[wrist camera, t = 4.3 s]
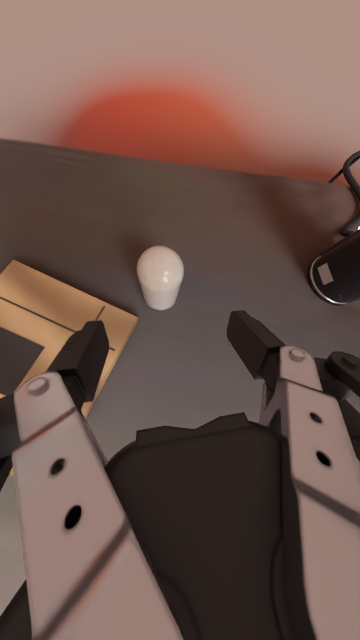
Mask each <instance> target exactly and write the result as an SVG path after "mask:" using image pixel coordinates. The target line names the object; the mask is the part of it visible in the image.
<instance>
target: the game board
mask: <svg viewBox="0 0 360 640" xmlns="http://www.w3.org/2000/svg"><path fill="white" fill-rule="evenodd" d="M99 320H102V321H103V323H104V326H105V330H106V333H107V337H108V340H109V352H108V355H107V358H106V362H105V365H104V368H103V371H102V374H101V378H100V381H99V384H98V387H97V390H96V393H95V397H94V400H93V401H92V402H85V403H83V406H82V409H81V411H82V413H83V415H84V417H85V419H86V417H87V415H88V413H89V412H90V410H91V408H92V406H93V404H94V402H95V400H96V399H97V397H98V395H99V393H100V391H101V389H102V387H103V386H104V384H105V382H106V380H107V378H108V376H109V374H110V373H111V371H112V369H113V367H114V365H115V363H116V361H117V360H118V358H119V356H120V354H121V352H122V350H123V348H124V347H125V345H126V343H127V341H128V339H129V337H130V335H131V334H132V332H133V330H134V328H135V326H136V324H137V322H138V321H139V319H138V317H136V316H134V315H132V314H129V313H127V312H125V311H123V310H121V309H119V308H117V307H114V306H112V305H110V304H108V303H106V302H104V301H101V300H99V299H97V298H95V297H93V296H91V295H89V294H86V293H84V292H82V291H80V290H78V289H76V288H73V287H71V286H69V285H67V284H65V283H63V282H61V281H58V280H56V279H54V278H52V277H50V276H48V275H45V274H43V273H41V272H39V271H37V270H35V269H33V268H30V267H28V266H26V265H24V264H22V263H20V262H18V261H15V260H12V262H11V263H10V264H9V265H8V266H7V267H6V269H5V270H4V271H3V272H2V273H1V274H0V398H2V397H5V396H8V395H11V394H13V393H15V392H16V390H17V389H18V388H19V387H20V386H21V385H22V384H23V383H24V382H26V381H27V380H28V379H30V378H32V377H34V376H36V375H38V374H41V373H44V372H46V370H47V369H48V367H49V366H50V364H51V363H52V361H53V360H54V359H55V357H56V356H57V354H58V353H59V351H61V348H62V347H63V346H64V345H65V343H66V341H67V340H68V338H69V337H70V336H71V335H73V334H74V333H75V332H76V331H79V330H82V328H83V327H84V325H85V323H86V322H87V321H99ZM9 475H11V476H13V477H14V472H13V467H12V469H11V471H10V473H9Z"/></svg>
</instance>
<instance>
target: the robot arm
mask: <svg viewBox="0 0 360 640" xmlns="http://www.w3.org/2000/svg"><path fill="white" fill-rule="evenodd" d="M359 158H360V151H358V152H356V153H354V154H353V155H352V156H350V157H349V158H348V159H347V160H346V162H345V163H344V166H343V168H342V169H341V170H340V171H339V172H338V173H337V174H336V175H335V176H334V177H333V178H332V179H331V180H330V181H329V182H327V183H332V182H333V181H334V180H335V179H336V178H338V177H339V176H340V175H341V174H342V173H343V174H344V176H345V179H346V180H347V182H348V184H349V185H350V187H351V188H352V189H353V191H354V192H355V194H356V196H357V197H358V199H359V202H360V186H359V185H358V183H357V182H356V180H355V179H354V177H353V176H352V174H351V172H350V169H349V167H350V166H351V165H352V164H354V163H355V162H356V161H357V160H359ZM359 221H360V213H359V214H358V216H357V217H356V218H355V219H354V220H353V221H352V222H350V223H349V224H348V225H347V226H346V227H345V228H344V229H343V230H342V236H345V238H344V239H342V240H340V241H339V242H337V243H336V244H335V245H334V246H332V247H331V248H329V249H328V250H326V251H324V252H323V253H321V256H320V257H318V258H317V259H315V260H314V261H313V262H312V263H311V265H310V267H309V271H308V276H309V281H310V284H311V286H312V288H313V290H314V291H315V292H316V293H317V295H318V296H319V297H321V298H322V299H323V300H325V301H326V302H328V303H331V304H334V305H345V304H348V303H351V302H353V301H356V300H360V227H359V228H358V230H357V231H356V232H353V231H349V230H350V229H351V228H352V227H353V226H354V225H355V224H357V223H358V222H359ZM227 338H228V340H229V341H230V343H231V344H232V346H233V348H234V349H235V351H236V352H237V354H238V355H239V357H240V358H241V360H242V361H243V363H244V364H245V366H246V367H247V369H248V370H249V372H250V373H251V375H252V376H253V378H254V379H262V378H263V379H264V380H265V382H264V385H263V395H262V406H261V415H260V419H259V422H258V423H255V422H251V421H248V419H247V417H246V415H245V413H238V414H232V415H226V416H220V417H218V418H216V419H214V420H212V421H210V422H208V423H206V424H204V425H202V426H201V427H199V428H196V429H187V428H179V427H170V426H162V427H156V428H150V429H144V430H138V431H137V435H136V440H135V441H133V442H131V443H130V444H128V445H127V446H125V447H124V448H122V449H121V450H120V451H119V452H117V453H116V454H115V455H114V456H113V457H112V458H111V459H110V461H109V462H108V461H107V459H106V457H105V455H104V453H103V451H102V450H101V448H100V446H99V444H98V442H97V440H96V438H95V436H94V434H93V432H92V431H91V429H90V427H89V425H88V423H87V421H86V419H85V417H84V415H83V413H82V411H81V409H82V406H83V403H85V402H92V401H93V400H94V397H95V393H96V390H97V387H98V384H99V381H100V378H101V374H102V371H103V368H104V365H105V362H106V358H107V355H108V352H109V340H108V337H107V333H106V330H105V326H104V323H103V321H102V320H99V321H87V322H86V323H85V325H84V327H83V328H82V330H79V331H76V332H75V333H74V334H73V335H71V336H70V337H69V338H68V340H67V341H66V343H65V345H64V346H63V347H62V348H61V351H59V353H58V354H57V356H56V357H55V359H54V360H53V361H52V363H51V364H50V366H49V367H48V369H47V370H46V372H44V373H41V374H38V375H36V376H34V377H32V378H30V379H28V380H27V381H26V382H24V383H23V384H22V385H21V386H20V387H19V388H18V389H17V390H16V392H15V393H13V394H11V395H8V396H5V397H2V398H0V491H1V489H2V487H3V485H4V483H5V481H6V479H7V477H8V475H9V473H10V471H11V469H12V467H13V472H14V480H15V489H16V497H17V506H18V514H19V522H20V531H21V539H22V548H23V556H24V565H25V573H26V580H25V581H24V583H23V584H22V586H21V587H20V589H19V590H18V592H17V593H16V594H15V596H14V597H13V599H12V600H11V602H10V603H9V605H8V606H7V607H6V609H5V610H4V612H3V613H2V615H1V616H0V640H360V467H359V464H358V461H357V459H358V460H359V461H360V413H359V412H358V411H357V410H356V409H355V408H354V407H353V406H352V405H351V404H349V403H348V402H347V401H346V400H345V399H346V398H347V397H348V396H349V395H350V394H351V393H352V392H354V393H355V394H356V395H358V396H359V397H360V359H359V358H358V357H355V356H353V355H351V354H348V353H344V352H332V353H331V354H330V356H329V357H328V358H327V359H321V358H314V357H312V356H311V355H310V354H309V353H308V352H306V351H305V350H303V349H301V348H298V347H295V346H289V345H287V346H286V345H285V344H284V343H283V342H282V341H281V340H279V339H278V338H277V337H276V336H275V335H274V334H273V333H272V332H271V331H269V329H267V328H266V327H265V326H264V325H263V324H262V323H261V322H260V321H258V320H256V319H254V318H252V317H251V316H250V315H248V314H247V313H246V312H245V311H232V312H231V314H230V318H229V323H228V327H227ZM356 457H357V458H356Z"/></svg>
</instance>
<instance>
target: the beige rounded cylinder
mask: <svg viewBox="0 0 360 640" xmlns="http://www.w3.org/2000/svg"><path fill="white" fill-rule="evenodd" d="M137 276H138V279H139V283H140V286H141V290H142V293H143V297H144V300H145V302H146V303H147V304H148V305H149V306H150V307H152V308H154V309H157V310H165V309H168V308H170V307H171V306H173V305H174V303H175V302H176V300H177V297H178V294H179V290H180V287H181V284H182V280H183V276H184V266H183V262H182V260H181V258H180V256H179V255H178V254H177V253H176V252H175V251H174V250H173V249H171V248H169V247H167V246H162V245H157V246H153V247H150V248H148V249H147V250H145V251H144V252H143V253H142V254H141V256H140V258H139V260H138V263H137Z"/></svg>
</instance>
